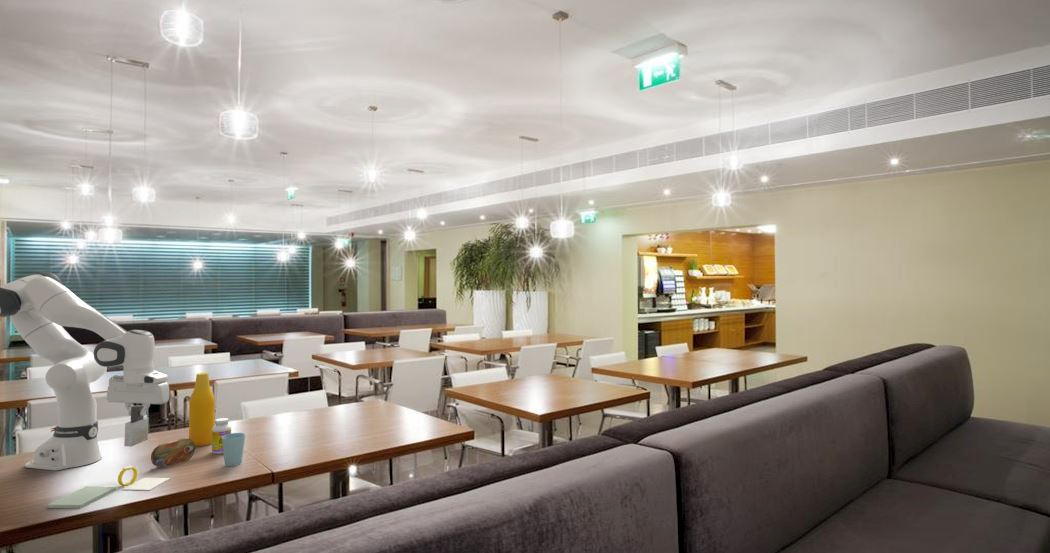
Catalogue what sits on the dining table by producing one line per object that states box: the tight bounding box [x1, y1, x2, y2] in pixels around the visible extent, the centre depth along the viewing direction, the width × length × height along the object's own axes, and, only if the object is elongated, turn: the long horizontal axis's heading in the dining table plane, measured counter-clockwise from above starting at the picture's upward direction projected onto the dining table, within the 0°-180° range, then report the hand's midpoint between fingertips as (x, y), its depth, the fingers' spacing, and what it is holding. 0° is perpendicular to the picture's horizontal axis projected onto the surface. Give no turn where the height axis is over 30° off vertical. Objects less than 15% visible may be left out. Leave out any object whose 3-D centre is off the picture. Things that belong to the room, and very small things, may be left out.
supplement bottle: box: [211, 417, 232, 455], centre depth 216 cm, size 7×7×13 cm
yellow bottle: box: [188, 372, 216, 448], centre depth 226 cm, size 9×9×29 cm
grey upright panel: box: [123, 404, 149, 448], centre depth 192 cm, size 2×8×13 cm, turn 179°
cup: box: [222, 432, 246, 467], centre depth 203 cm, size 8×8×10 cm
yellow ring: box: [117, 465, 139, 487], centre depth 182 cm, size 6×3×6 cm, turn 166°
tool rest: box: [47, 485, 117, 509], centre depth 170 cm, size 10×14×1 cm
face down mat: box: [121, 477, 171, 492], centre depth 182 cm, size 9×10×1 cm
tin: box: [150, 438, 196, 469], centre depth 202 cm, size 15×3×8 cm, turn 154°
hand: (137, 415), depth 192 cm, fingers closed on grey upright panel, 2 cm apart
